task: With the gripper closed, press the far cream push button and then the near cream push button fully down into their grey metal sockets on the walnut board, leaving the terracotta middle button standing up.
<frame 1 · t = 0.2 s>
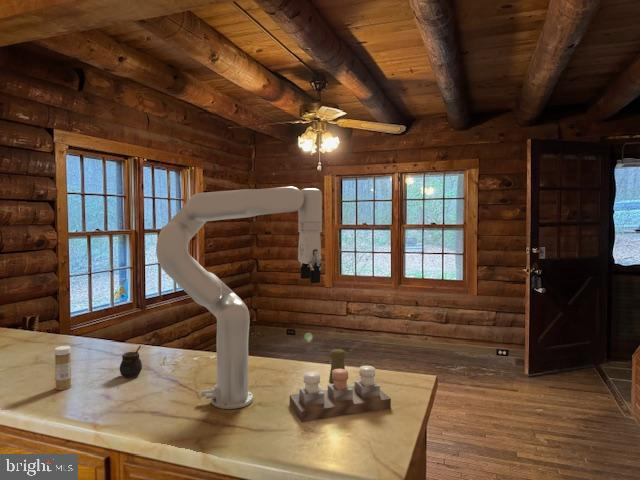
hand: (310, 280, 138), 36 cm above the counter, tool pointing down, fingers open, 9 cm apart
button board: (339, 406, 129), on the counter
sprinkles bottle: (63, 388, 140), on the counter
button near: (311, 383, 126), point 8 cm above the counter, slide at 0.0 cm
cork: (337, 381, 149), on the counter
button far: (367, 376, 132), point 8 cm above the counter, slide at 0.0 cm
mate gourd: (131, 376, 152), on the counter
button middle: (340, 379, 129), point 8 cm above the counter, slide at 0.0 cm
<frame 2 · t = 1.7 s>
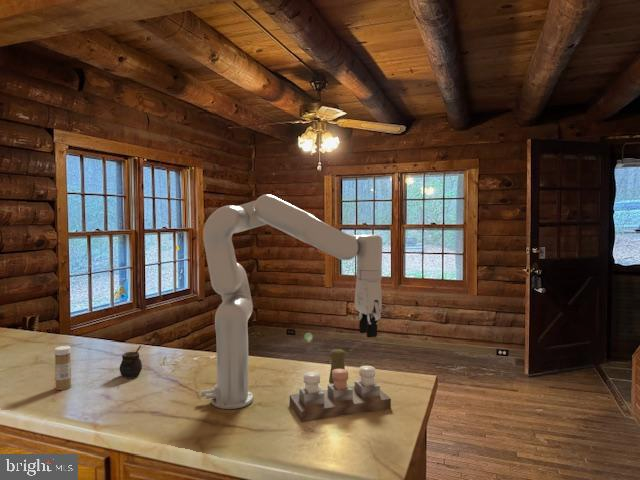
hand: (368, 334, 131), 21 cm above the counter, tool pointing down, fingers open, 4 cm apart
nothing on the counter moved.
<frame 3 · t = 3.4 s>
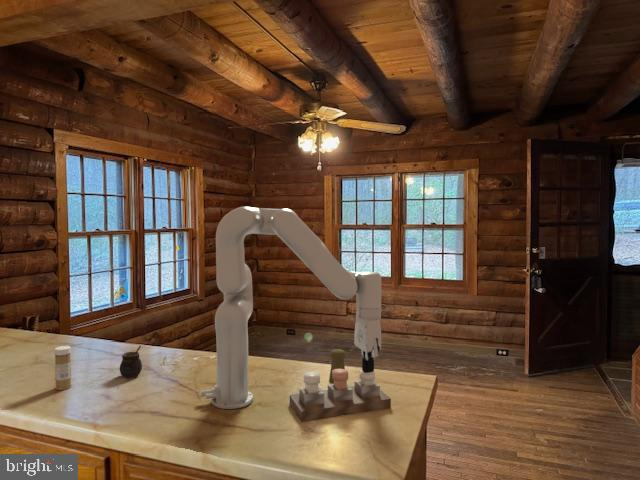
hand: (368, 371, 132), 10 cm above the counter, tool pointing down, fingers closed
button far: (367, 379, 132), point 7 cm above the counter, slide at 1.0 cm, touching gripper
everything else where it was.
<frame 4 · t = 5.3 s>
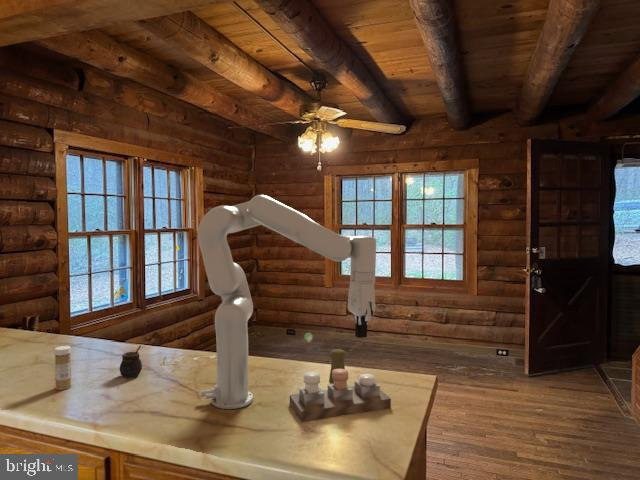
hand: (361, 336, 130), 21 cm above the counter, tool pointing down, fingers closed
button far: (367, 384, 132), point 6 cm above the counter, slide at 2.6 cm
everything else where it was.
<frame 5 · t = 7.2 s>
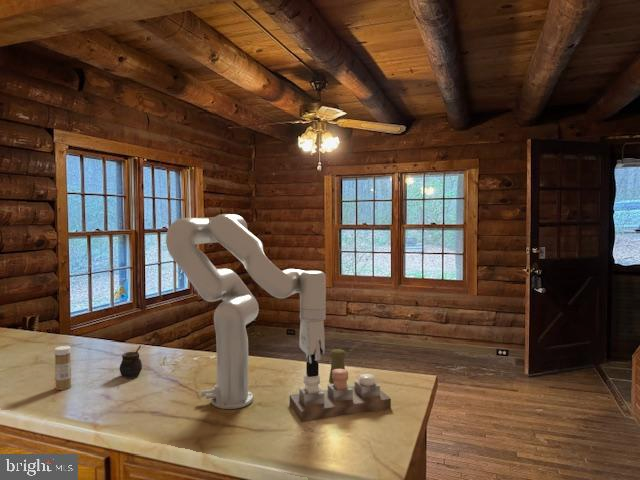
hand: (312, 375, 125), 11 cm above the counter, tool pointing down, fingers closed
button near: (311, 383, 126), point 8 cm above the counter, slide at 0.2 cm, touching gripper
everything else where it was.
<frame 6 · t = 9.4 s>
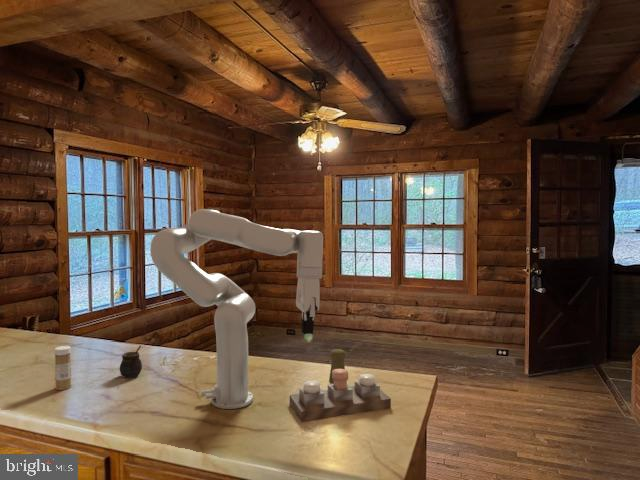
hand: (307, 332, 128), 22 cm above the counter, tool pointing down, fingers closed
button near: (311, 391, 126), point 6 cm above the counter, slide at 2.6 cm
everything else where it was.
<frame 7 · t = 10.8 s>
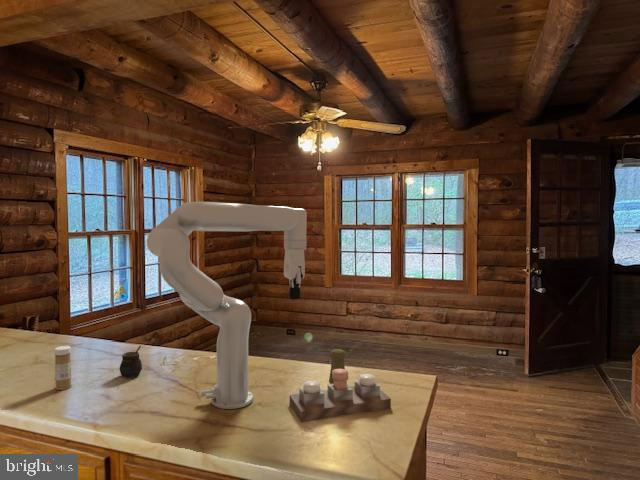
hand: (294, 298, 146), 29 cm above the counter, tool pointing down, fingers closed
nothing on the counter moved.
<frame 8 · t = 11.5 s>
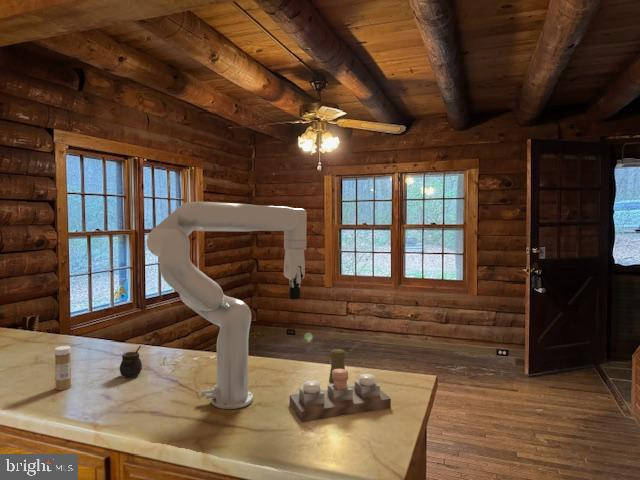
hand: (294, 298, 146), 29 cm above the counter, tool pointing down, fingers closed
nothing on the counter moved.
at the end: button far slide at 2.6 cm; button near slide at 2.6 cm; button middle slide at 0.0 cm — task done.
